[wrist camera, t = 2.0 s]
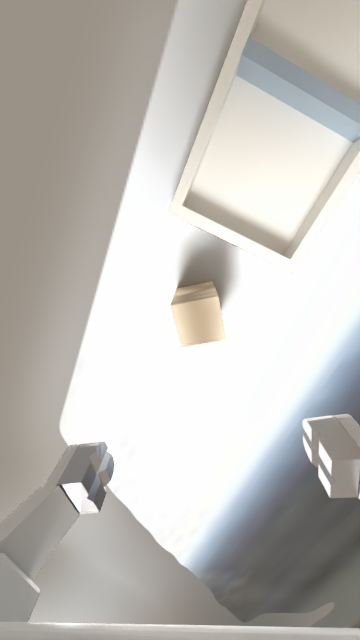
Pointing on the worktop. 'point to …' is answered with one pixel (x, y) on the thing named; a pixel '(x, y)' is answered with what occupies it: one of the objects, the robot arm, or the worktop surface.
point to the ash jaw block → (198, 314)
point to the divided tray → (278, 130)
